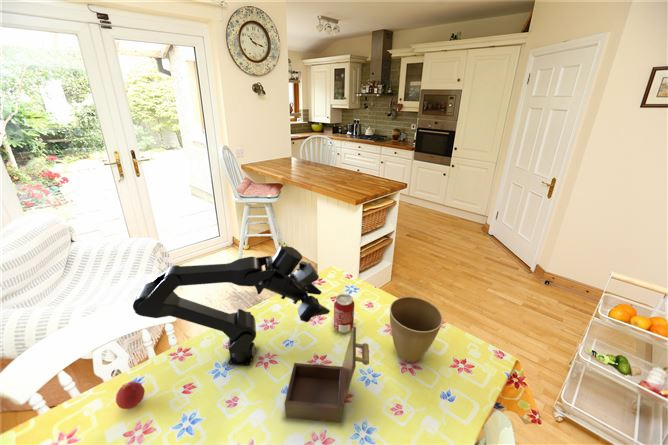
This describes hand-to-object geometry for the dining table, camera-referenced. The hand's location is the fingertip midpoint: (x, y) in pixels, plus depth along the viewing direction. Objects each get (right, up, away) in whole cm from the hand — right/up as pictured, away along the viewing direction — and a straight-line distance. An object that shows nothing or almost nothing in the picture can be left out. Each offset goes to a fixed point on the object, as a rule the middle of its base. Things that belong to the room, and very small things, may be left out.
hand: (324, 302), depth 89 cm
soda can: (+6, -12, +11) cm, 17 cm away
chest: (-2, -22, -13) cm, 25 cm away
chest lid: (+6, -11, -18) cm, 22 cm away
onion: (-48, -22, -15) cm, 55 cm away
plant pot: (+26, -16, +1) cm, 31 cm away
